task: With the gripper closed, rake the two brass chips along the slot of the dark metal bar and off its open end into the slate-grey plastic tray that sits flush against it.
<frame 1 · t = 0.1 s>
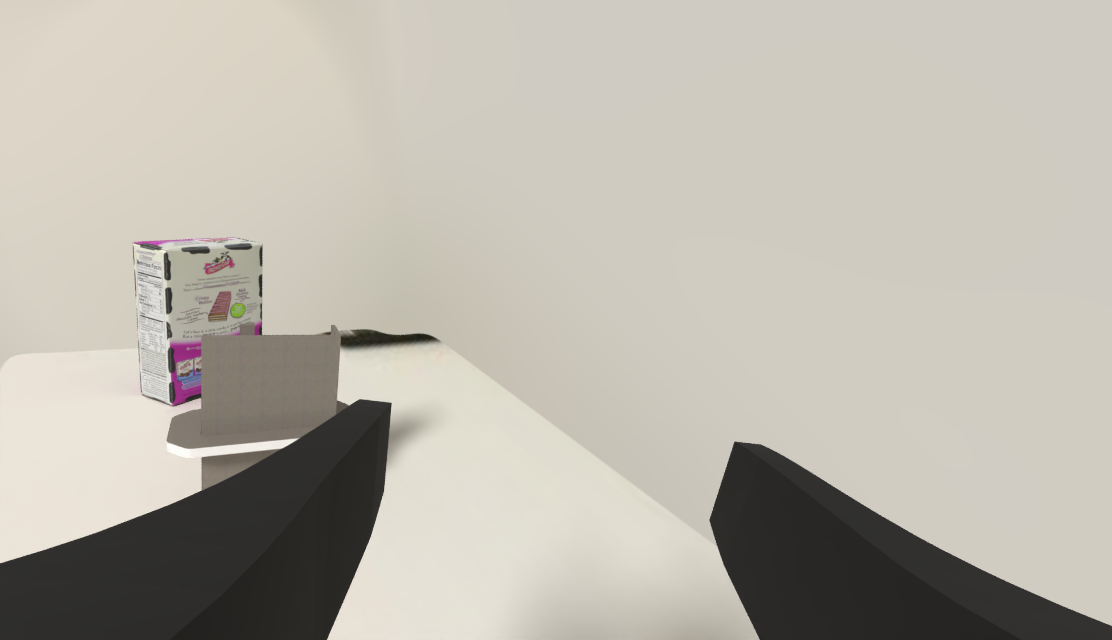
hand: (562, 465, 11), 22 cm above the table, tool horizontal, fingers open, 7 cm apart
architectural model: (267, 506, 41), on the table
candy bar box: (204, 387, 58), on the table
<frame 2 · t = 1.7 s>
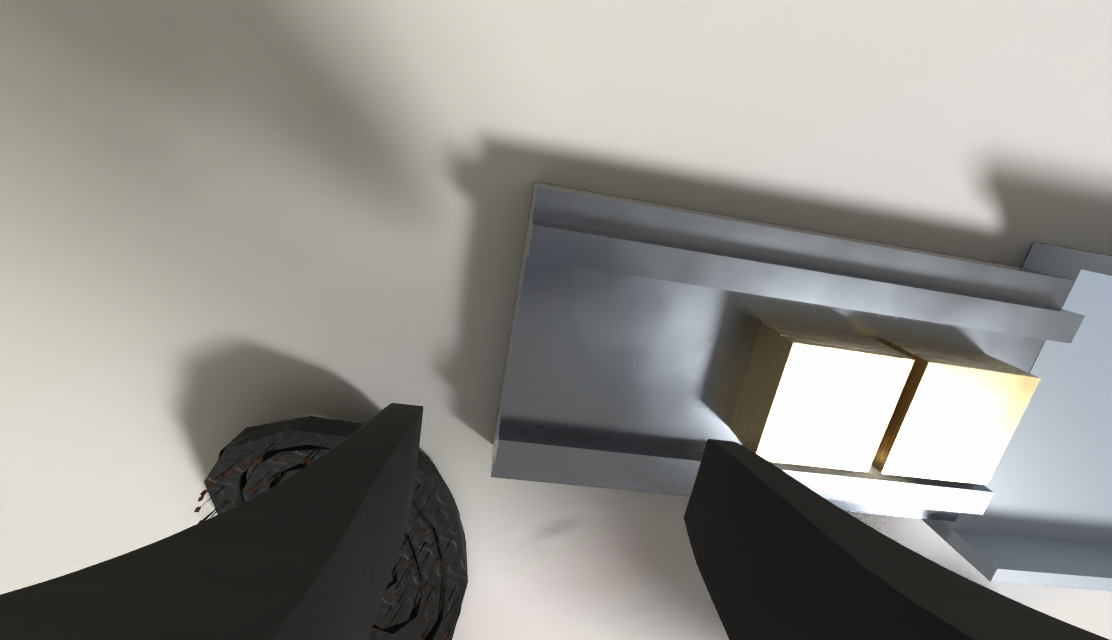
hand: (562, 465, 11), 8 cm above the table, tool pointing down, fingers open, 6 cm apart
tray: (1085, 403, 22), on the table
slotted bar: (752, 357, 20), on the table
hairbrush: (407, 626, 23), on the table
brass chip 2: (798, 382, 18), point 2 cm above the table, touching slotted bar
brass chip 1: (913, 398, 18), point 2 cm above the table, touching slotted bar
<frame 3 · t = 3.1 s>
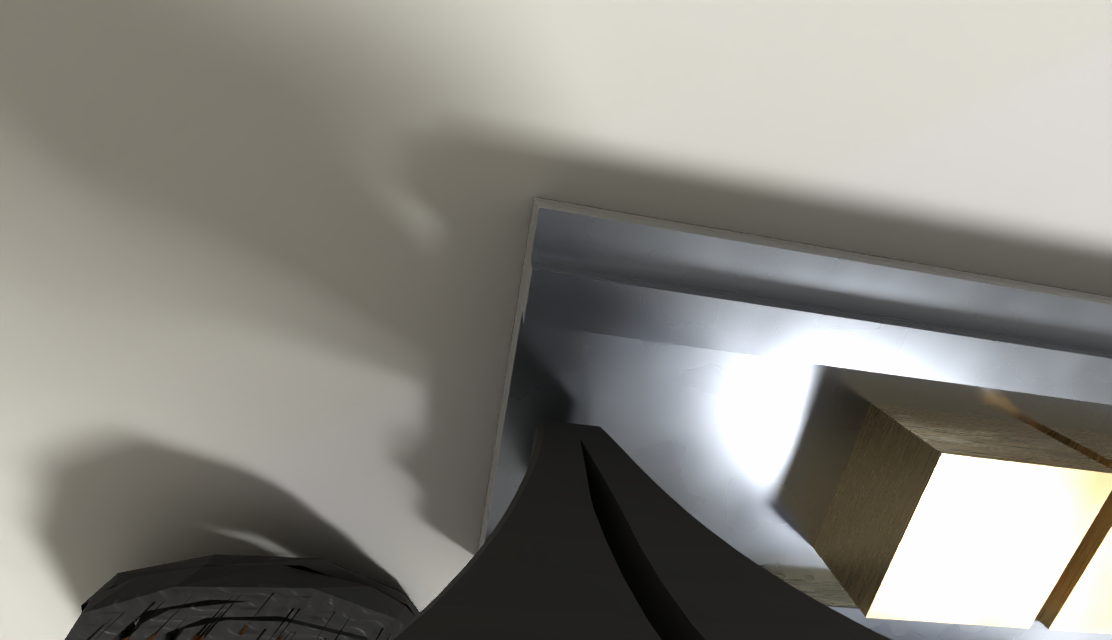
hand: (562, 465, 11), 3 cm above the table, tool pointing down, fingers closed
slotted bar: (837, 438, 14), on the table
brass chip 2: (916, 486, 12), point 2 cm above the table, touching slotted bar
brass chip 1: (1074, 503, 13), point 2 cm above the table, touching slotted bar
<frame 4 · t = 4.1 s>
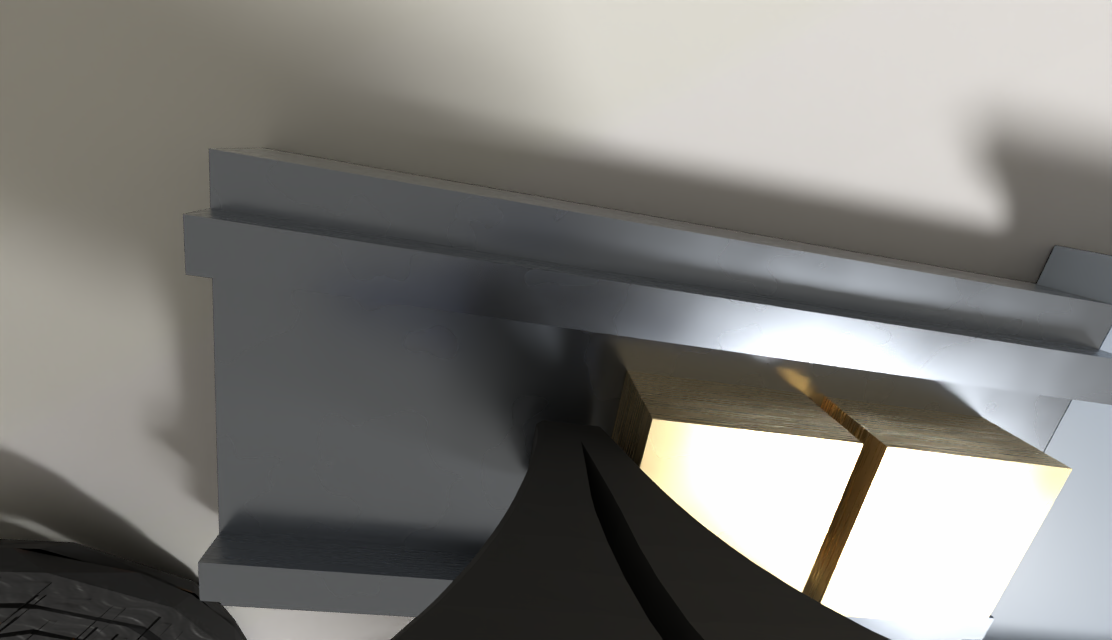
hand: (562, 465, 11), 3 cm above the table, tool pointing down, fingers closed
slotted bar: (640, 414, 13), on the table
brass chip 2: (693, 462, 12), point 2 cm above the table, touching gripper, slotted bar
brass chip 1: (873, 482, 12), point 2 cm above the table, touching slotted bar
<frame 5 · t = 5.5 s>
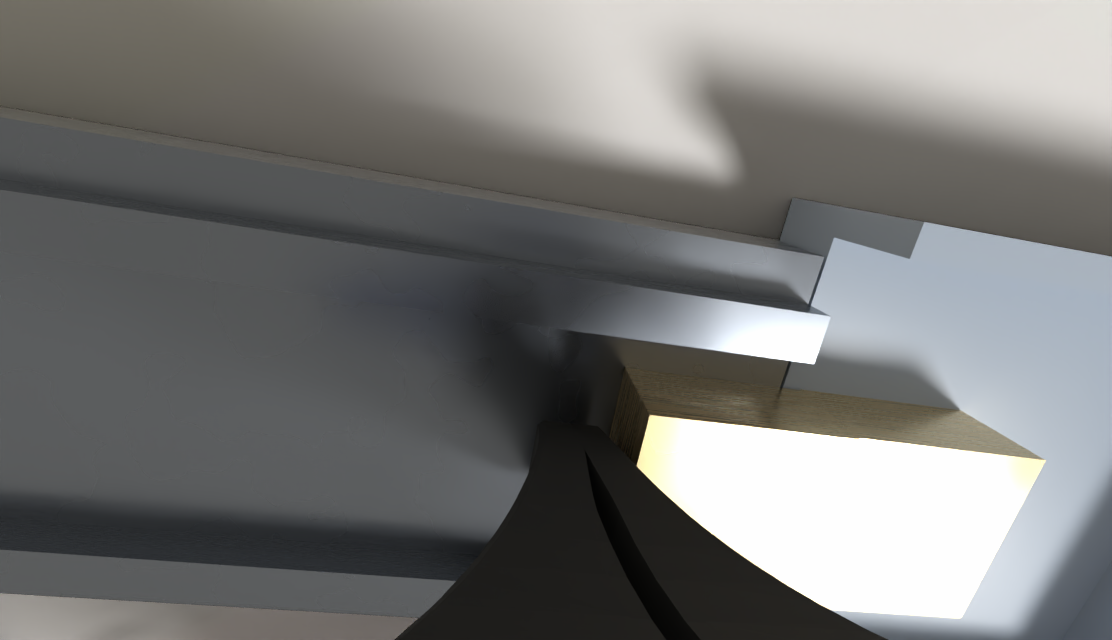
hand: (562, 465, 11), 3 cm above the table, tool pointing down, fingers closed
tray: (912, 447, 14), on the table
slotted bar: (359, 382, 12), on the table
brass chip 2: (691, 459, 12), point 2 cm above the table, touching brass chip 1, gripper, slotted bar
brass chip 1: (851, 475, 12), point 2 cm above the table, touching brass chip 2, tray
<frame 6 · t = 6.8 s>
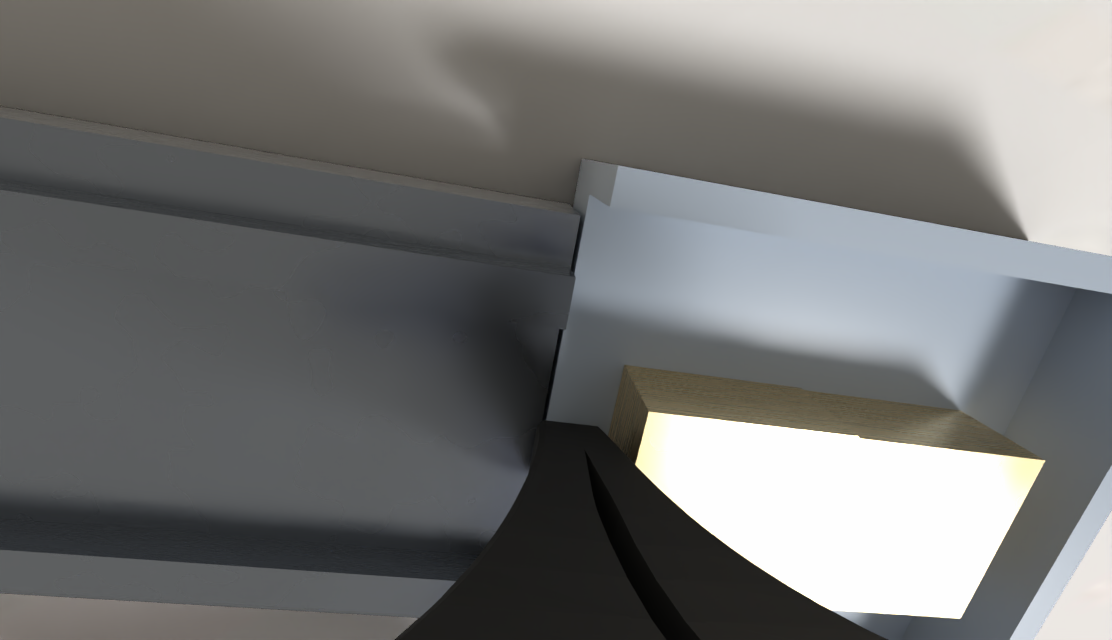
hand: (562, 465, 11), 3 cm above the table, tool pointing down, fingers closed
tray: (747, 428, 14), on the table
slotted bar: (133, 356, 12), on the table
brass chip 2: (691, 456, 12), point 2 cm above the table, touching brass chip 1, gripper
brass chip 1: (850, 475, 12), point 2 cm above the table, touching brass chip 2, tray
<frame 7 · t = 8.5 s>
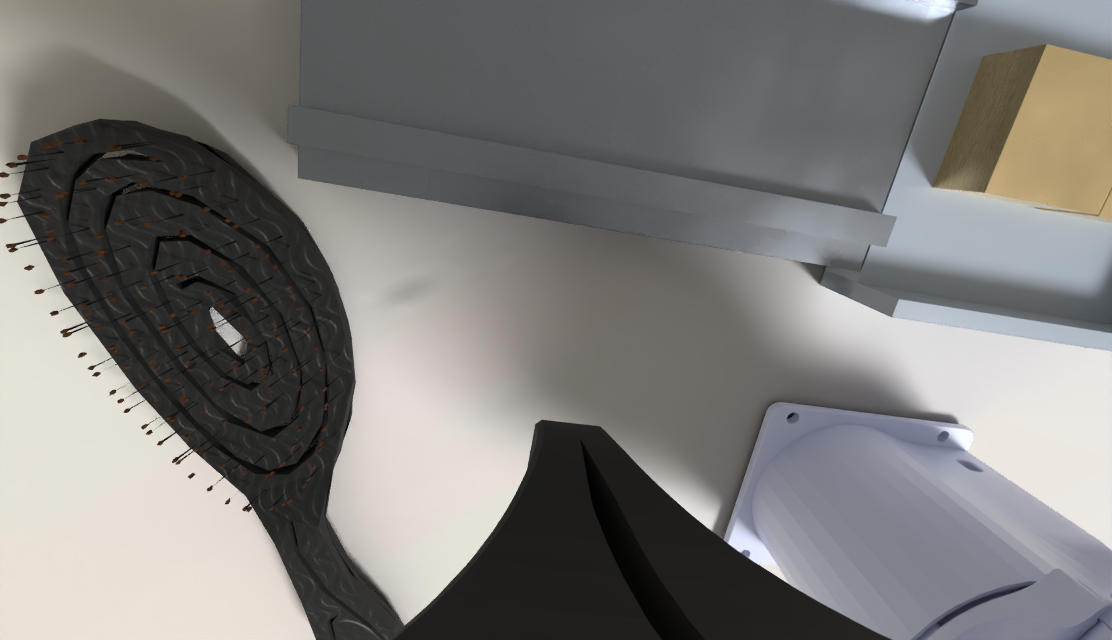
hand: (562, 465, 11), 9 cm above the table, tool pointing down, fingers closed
tray: (1014, 151, 19), on the table
slotted bar: (619, 68, 17), on the table
hairbrush: (298, 444, 21), on the table
brass chip 2: (1010, 135, 17), point 2 cm above the table, touching tray
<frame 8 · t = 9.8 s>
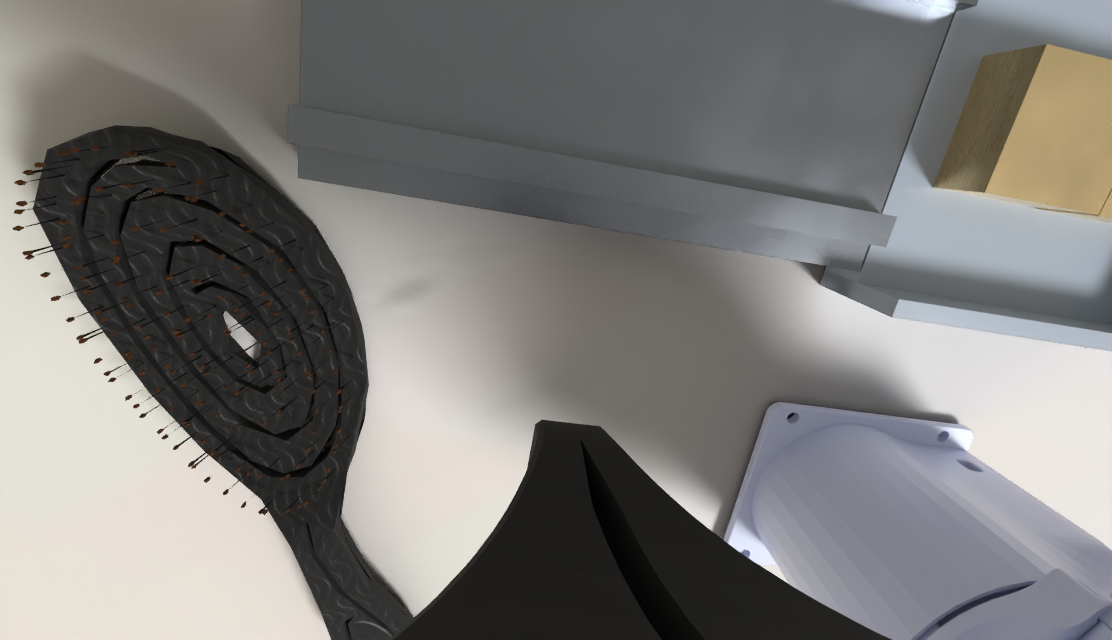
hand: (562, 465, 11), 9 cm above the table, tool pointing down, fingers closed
tray: (1014, 151, 19), on the table
slotted bar: (620, 68, 17), on the table
hairbrush: (311, 447, 21), on the table
brass chip 2: (1010, 135, 17), point 2 cm above the table, touching tray
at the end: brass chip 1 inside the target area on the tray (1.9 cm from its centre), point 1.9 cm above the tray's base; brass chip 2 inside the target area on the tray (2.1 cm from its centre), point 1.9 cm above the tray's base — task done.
